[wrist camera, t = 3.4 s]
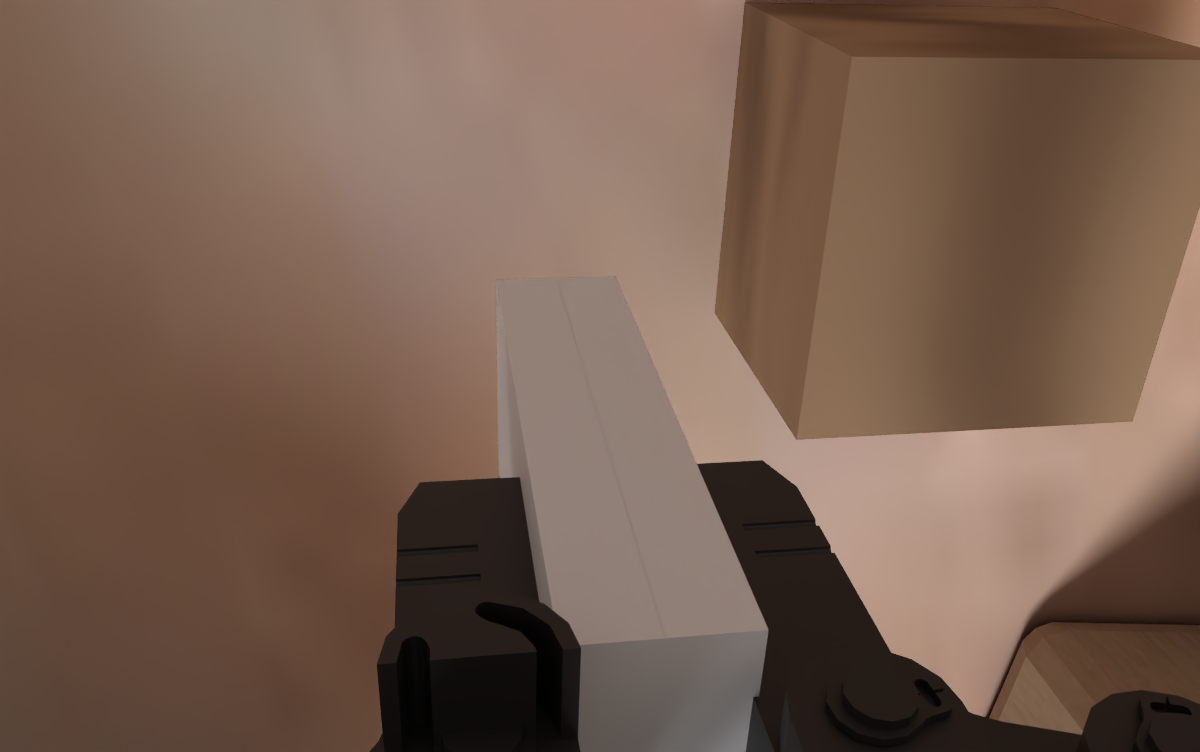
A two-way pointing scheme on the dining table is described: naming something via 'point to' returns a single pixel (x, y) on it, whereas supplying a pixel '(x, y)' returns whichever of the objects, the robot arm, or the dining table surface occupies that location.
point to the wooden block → (1095, 670)
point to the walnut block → (954, 214)
